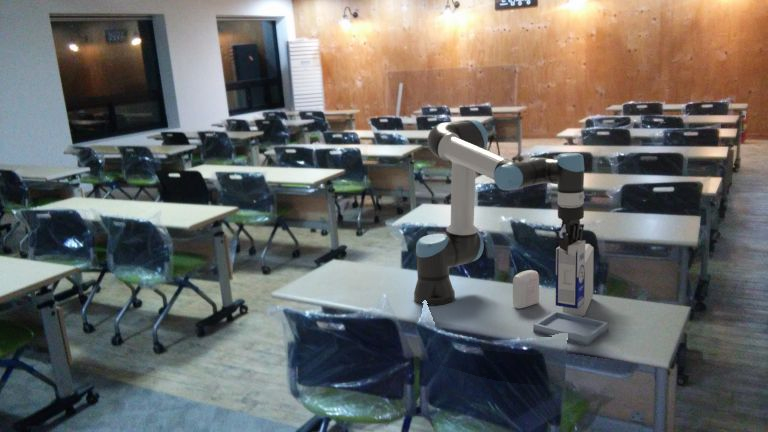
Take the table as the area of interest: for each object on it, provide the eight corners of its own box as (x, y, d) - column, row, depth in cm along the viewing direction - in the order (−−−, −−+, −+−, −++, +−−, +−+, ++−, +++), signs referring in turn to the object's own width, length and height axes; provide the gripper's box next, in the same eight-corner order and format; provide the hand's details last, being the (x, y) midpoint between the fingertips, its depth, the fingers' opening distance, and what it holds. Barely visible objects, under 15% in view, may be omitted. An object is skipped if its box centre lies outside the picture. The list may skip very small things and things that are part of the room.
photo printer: (532, 299, 223) (531, 266, 220) (541, 302, 220) (540, 269, 217) (511, 306, 218) (510, 273, 215) (520, 310, 214) (519, 276, 212)
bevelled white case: (570, 295, 225) (570, 242, 221) (593, 297, 221) (594, 243, 217) (558, 316, 207) (558, 258, 202) (584, 319, 203) (584, 260, 199)
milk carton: (577, 309, 186) (578, 244, 183) (555, 305, 190) (556, 242, 186) (584, 302, 192) (585, 239, 188) (562, 299, 196) (563, 237, 192)
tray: (533, 331, 196) (533, 324, 195) (555, 317, 206) (555, 310, 205) (587, 345, 184) (587, 338, 183) (608, 330, 193) (608, 322, 193)
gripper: (571, 210, 179) (571, 288, 184) (592, 202, 188) (592, 276, 193) (548, 208, 184) (549, 284, 189) (569, 200, 193) (569, 272, 198)
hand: (570, 280), depth 191 cm, fingers closed
